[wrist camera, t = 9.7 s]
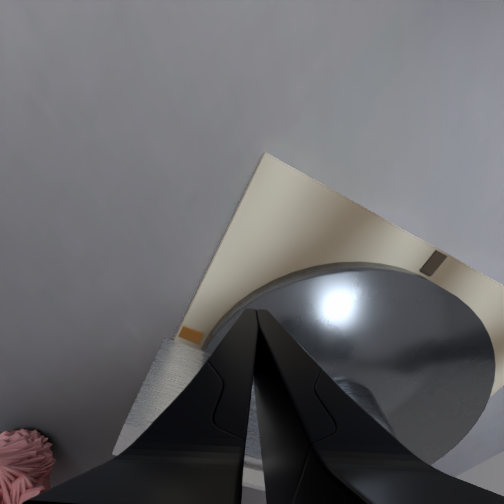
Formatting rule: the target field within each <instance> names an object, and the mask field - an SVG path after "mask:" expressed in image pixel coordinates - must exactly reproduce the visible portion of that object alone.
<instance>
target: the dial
mask: <svg viewBox="0 0 504 504" xmlns="http://www.w3.org/2000/svg"><path fill="white" fill-rule="evenodd" d="M244 308H254V309H255V310H256V309H266V310H268V311H269V312H270V313H271V314H272V315H273V317H274V318H275V319H276V320H277V321H278V322H279V323H280V324H281V325H282V326H283V327H284V328H285V329H286V330H287V331H288V332H289V334H290V335H291V336H292V337H293V338H294V339H295V340H296V341H297V342H298V343H299V344H300V345H301V346H302V347H303V348H304V350H305V351H306V352H307V353H308V354H309V355H310V356H311V357H312V358H313V359H314V360H315V361H316V362H317V363H318V364H319V365H320V367H321V368H322V370H324V371H325V372H326V373H327V374H328V375H329V376H330V377H331V378H332V379H333V380H334V381H335V382H336V383H337V384H338V385H339V386H340V387H341V388H342V389H343V390H344V391H345V392H346V393H347V394H348V395H349V396H350V397H351V398H352V399H353V400H354V401H355V402H356V403H358V404H359V405H360V406H361V407H362V408H363V409H364V410H365V411H366V412H367V413H368V414H370V415H371V416H372V417H373V418H374V419H375V420H376V421H377V422H378V423H380V424H381V425H382V426H383V427H384V428H385V429H386V430H387V431H388V432H390V433H391V434H392V435H393V436H394V437H395V438H396V439H397V440H398V441H400V442H401V443H402V444H403V445H404V446H405V447H406V448H407V449H409V450H410V451H411V452H412V453H413V454H415V455H416V456H417V457H419V458H420V459H421V460H423V461H424V462H425V463H427V464H429V465H431V464H433V463H434V462H436V461H437V460H439V459H440V458H441V457H443V456H444V455H445V454H446V453H448V452H449V451H450V450H451V449H453V448H454V447H455V446H456V445H457V444H458V443H459V442H460V441H461V440H462V439H463V438H464V437H465V436H466V435H467V434H468V432H469V431H470V430H471V429H472V427H473V426H474V425H475V423H476V422H477V421H478V419H479V417H480V416H481V414H482V412H483V411H484V409H485V407H486V404H487V402H488V400H489V398H490V395H491V392H492V388H493V384H494V379H495V368H496V363H495V354H494V348H493V345H492V342H491V338H490V335H489V333H488V332H487V330H486V328H485V326H484V324H483V322H482V321H481V320H480V318H479V317H478V316H477V315H476V314H475V312H474V311H473V310H472V309H471V308H470V307H469V306H468V305H467V304H465V303H464V302H463V301H462V300H460V299H459V298H458V297H457V296H455V295H454V294H452V293H450V292H449V291H447V290H445V289H444V288H442V287H440V286H439V285H437V284H435V283H434V282H432V281H430V280H428V279H427V278H425V277H423V276H421V275H419V274H416V273H414V272H411V271H409V270H406V269H403V268H400V267H395V266H391V265H386V264H382V263H371V262H336V263H330V264H323V265H317V266H312V267H309V268H305V269H302V270H298V271H294V272H292V273H289V274H287V275H284V276H282V277H279V278H277V279H274V280H272V281H270V282H269V283H267V284H265V285H263V286H261V287H260V288H258V289H256V290H254V291H253V292H251V293H250V294H248V295H247V296H246V297H244V298H243V299H242V300H240V301H239V302H237V303H236V304H235V305H234V306H233V307H232V308H231V309H230V310H229V311H228V312H227V313H226V314H225V315H224V316H222V318H221V319H220V320H219V321H218V323H217V324H216V325H215V326H214V328H213V329H212V330H211V332H210V333H209V335H208V337H207V338H206V340H205V342H204V344H203V345H202V348H201V350H199V349H196V348H193V347H190V346H187V345H184V344H181V343H178V342H175V341H172V340H169V339H166V338H164V340H163V342H162V344H161V347H160V349H159V351H158V353H157V355H156V357H155V359H154V361H153V364H152V366H151V368H150V370H149V372H148V374H147V376H146V379H145V381H144V383H143V385H142V387H141V389H140V391H139V393H138V396H137V398H136V400H135V402H134V404H133V406H132V408H131V410H130V413H129V415H128V417H127V419H126V421H125V423H124V426H123V428H122V430H121V433H120V435H119V438H118V440H117V443H116V445H115V448H114V450H113V453H112V455H119V454H120V453H121V452H123V451H124V450H125V449H126V448H127V447H129V446H130V445H131V444H132V443H133V442H134V441H135V440H136V439H137V438H138V437H139V436H140V435H141V434H142V433H143V432H144V431H145V430H146V429H147V428H148V427H149V426H150V425H151V424H152V422H153V421H154V420H155V419H156V418H157V417H158V416H159V415H160V414H161V413H162V412H163V411H164V410H165V409H166V408H167V407H168V406H169V405H170V404H171V403H172V401H173V400H174V399H175V398H176V397H177V396H178V395H179V394H180V393H181V392H182V391H183V390H184V388H185V387H186V386H187V385H188V384H189V383H190V382H191V380H192V379H193V378H194V377H195V375H196V374H197V373H198V371H199V370H200V369H201V367H202V366H203V365H204V363H205V362H206V361H207V359H208V358H209V356H210V355H211V354H212V352H213V351H214V350H215V348H216V347H217V345H218V344H219V343H220V341H221V340H222V339H223V337H224V336H225V334H226V333H227V332H228V330H229V329H230V328H231V326H232V325H233V323H234V322H235V321H236V319H237V318H238V316H239V315H240V314H241V312H242V311H243V310H244ZM242 486H246V487H250V488H254V489H258V490H262V491H265V483H264V474H263V465H262V456H261V447H260V438H259V429H258V420H257V411H256V402H255V393H254V384H253V385H252V394H251V403H250V412H249V421H248V430H247V439H246V448H245V457H244V468H243V482H242Z"/></svg>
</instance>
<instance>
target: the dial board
mask: <svg viewBox="0 0 504 504" xmlns="http://www.w3.org/2000/svg"><path fill="white" fill-rule="evenodd" d="M336 262H371V263H382V264H386V265H391V266H395V267H400V268H403V269H406V270H409V271H411V272H414V273H416V274H419V275H421V276H423V277H425V278H427V279H428V280H430V281H432V282H434V283H435V284H437V285H439V286H440V287H442V288H444V289H445V290H447V291H449V292H450V293H452V294H454V295H455V296H457V297H458V298H459V299H460V300H462V301H463V302H464V303H465V304H467V305H468V306H469V307H470V308H471V309H472V310H473V311H474V312H475V314H476V315H477V316H478V317H479V318H480V320H481V321H482V322H483V324H484V326H485V328H486V330H487V332H488V333H489V335H490V338H491V342H492V345H493V348H494V354H495V363H496V368H495V379H494V384H493V388H492V392H491V395H490V397H491V396H492V395H493V394H494V393H495V392H497V391H498V390H499V389H500V388H501V387H502V386H503V385H504V285H502V284H500V283H498V282H497V281H495V280H493V279H491V278H489V277H488V276H486V275H484V274H482V273H480V272H479V271H477V270H475V269H473V268H472V267H470V266H468V265H466V264H464V263H463V262H461V261H459V260H457V259H455V258H454V257H452V256H450V255H448V254H447V253H445V252H443V251H441V250H439V249H438V248H436V247H434V246H432V245H430V244H429V243H427V242H425V241H423V240H422V239H420V238H418V237H416V236H414V235H413V234H411V233H409V232H407V231H405V230H404V229H402V228H400V227H398V226H396V225H395V224H393V223H391V222H389V221H388V220H386V219H384V218H382V217H380V216H379V215H377V214H375V213H373V212H371V211H370V210H368V209H366V208H364V207H363V206H361V205H359V204H357V203H355V202H354V201H352V200H350V199H348V198H346V197H345V196H343V195H341V194H339V193H338V192H336V191H334V190H332V189H330V188H329V187H327V186H325V185H323V184H321V183H320V182H318V181H316V180H314V179H313V178H311V177H309V176H307V175H305V174H304V173H302V172H300V171H298V170H296V169H295V168H293V167H291V166H289V165H288V164H286V163H284V162H282V161H280V160H279V159H277V158H275V157H273V156H271V155H270V154H268V153H266V152H265V153H264V154H263V155H262V157H261V159H260V161H259V163H258V165H257V167H256V169H255V171H254V173H253V175H252V177H251V179H250V181H249V184H248V186H247V188H246V190H245V192H244V194H243V196H242V198H241V200H240V202H239V204H238V206H237V208H236V210H235V213H234V215H233V217H232V219H231V221H230V223H229V225H228V227H227V229H226V231H225V233H224V235H223V237H222V239H221V242H220V244H219V246H218V248H217V250H216V252H215V254H214V256H213V258H212V260H211V262H210V264H209V266H208V268H207V271H206V273H205V275H204V277H203V279H202V281H201V283H200V285H199V287H198V289H197V291H196V293H195V295H194V297H193V300H192V302H191V304H190V306H189V308H188V310H187V312H186V314H185V316H184V318H183V320H182V322H181V324H180V326H179V329H178V331H177V333H176V335H175V337H174V339H173V341H175V342H178V343H181V344H184V345H187V346H190V347H193V348H196V349H199V350H201V348H202V345H203V344H204V342H205V340H206V338H207V337H208V335H209V333H210V332H211V330H212V329H213V328H214V326H215V325H216V324H217V323H218V321H219V320H220V319H221V318H222V316H224V315H225V314H226V313H227V312H228V311H229V310H230V309H231V308H232V307H233V306H234V305H235V304H236V303H237V302H239V301H240V300H242V299H243V298H244V297H246V296H247V295H248V294H250V293H251V292H253V291H254V290H256V289H258V288H260V287H261V286H263V285H265V284H267V283H269V282H270V281H272V280H274V279H277V278H279V277H282V276H284V275H287V274H289V273H292V272H294V271H298V270H302V269H305V268H309V267H312V266H317V265H323V264H330V263H336Z"/></svg>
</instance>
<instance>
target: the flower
mask: <svg viewBox="0 0 504 504" xmlns="http://www.w3.org/2000/svg"><path fill="white" fill-rule="evenodd" d="M47 440H48V438H46V437H44V435H42V436H41V435H40V432H39V433H38V432H37V430H34V431H29V430H27V429H26V430H24V429H23V428H22V429H21V430H17V431H16V430H12V431H11V432H8V431H4V432H3V433H1V434H0V504H22V503H23V502H24V501H26V500H28V499H30V498H32V497H34V496H37V495H39V494H41V493H43V492H45V491H47V490H49V489H50V482H49V477H50V476H51V473H50V470H51V469H52V468H53V467H52V466H53V465H54V463H55V462H56V459H54V458H53V456H52V455H53V454H52V453H53V452H52V451H51V450H50V447H51V446H52V445H53V444H52V443H49V442H48V441H47Z"/></svg>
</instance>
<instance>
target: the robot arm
mask: <svg viewBox="0 0 504 504" xmlns="http://www.w3.org/2000/svg"><path fill="white" fill-rule="evenodd" d="M253 384H254V393H255V402H256V411H257V420H258V429H259V438H260V447H261V456H262V465H263V474H264V483H265V492H266V501H267V504H504V496H501V495H498V494H496V493H494V492H491V491H488V490H485V489H483V488H481V487H478V486H475V485H473V484H470V483H468V482H465V481H463V480H460V479H457V478H455V477H452V476H450V475H447V474H445V473H443V472H441V471H439V470H437V469H435V468H433V467H432V466H430V465H429V464H427V463H425V462H424V461H423V460H421V459H420V458H419V457H417V456H416V455H415V454H413V453H412V452H411V451H410V450H409V449H407V448H406V447H405V446H404V445H403V444H402V443H401V442H400V441H398V440H397V439H396V438H395V437H394V436H393V435H392V434H391V433H390V432H388V431H387V430H386V429H385V428H384V427H383V426H382V425H381V424H380V423H378V422H377V421H376V420H375V419H374V418H373V417H372V416H371V415H370V414H368V413H367V412H366V411H365V410H364V409H363V408H362V407H361V406H360V405H359V404H358V403H356V402H355V401H354V400H353V399H352V398H351V397H350V396H349V395H348V394H347V393H346V392H345V391H344V390H343V389H342V388H341V387H340V386H339V385H338V384H337V383H336V382H335V381H334V380H333V379H332V378H331V377H330V376H329V375H328V374H327V373H326V372H325V371H324V370H322V368H321V367H320V365H319V364H318V363H317V362H316V361H315V360H314V359H313V358H312V357H311V356H310V355H309V354H308V353H307V352H306V351H305V350H304V348H303V347H302V346H301V345H300V344H299V343H298V342H297V341H296V340H295V339H294V338H293V337H292V336H291V335H290V334H289V332H288V331H287V330H286V329H285V328H284V327H283V326H282V325H281V324H280V323H279V322H278V321H277V320H276V319H275V318H274V317H273V315H272V314H271V313H270V312H269V311H268V310H266V309H256V310H255V309H254V308H244V310H243V311H242V312H241V314H240V315H239V316H238V318H237V319H236V321H235V322H234V323H233V325H232V326H231V328H230V329H229V330H228V332H227V333H226V334H225V336H224V337H223V339H222V340H221V341H220V343H219V344H218V345H217V347H216V348H215V350H214V351H213V352H212V354H211V355H210V356H209V358H208V359H207V361H206V362H205V363H204V365H203V366H202V367H201V369H200V370H199V371H198V373H197V374H196V375H195V377H194V378H193V379H192V380H191V382H190V383H189V384H188V385H187V386H186V387H185V388H184V390H183V391H182V392H181V393H180V394H179V395H178V396H177V397H176V398H175V399H174V400H173V401H172V403H171V404H170V405H169V406H168V407H167V408H166V409H165V410H164V411H163V412H162V413H161V414H160V415H159V416H158V417H157V418H156V419H155V420H154V421H153V422H152V424H151V425H150V426H149V427H148V428H147V429H146V430H145V431H144V432H143V433H142V434H141V435H140V436H139V437H138V438H137V439H136V440H135V441H134V442H133V443H132V444H131V445H130V446H129V447H127V448H126V449H125V450H124V451H123V452H121V453H120V454H119V455H117V456H116V457H114V458H113V459H111V460H110V461H108V462H106V463H104V464H102V465H99V466H97V467H95V468H93V469H91V470H89V471H87V472H85V473H83V474H81V475H78V476H76V477H74V478H72V479H70V480H68V481H66V482H64V483H62V484H60V485H58V486H55V487H53V488H51V489H49V490H47V491H45V492H43V493H41V494H39V495H37V496H34V497H32V498H30V499H28V500H26V501H24V502H23V503H22V504H241V499H242V482H243V468H244V457H245V448H246V439H247V430H248V421H249V412H250V403H251V394H252V385H253Z"/></svg>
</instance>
